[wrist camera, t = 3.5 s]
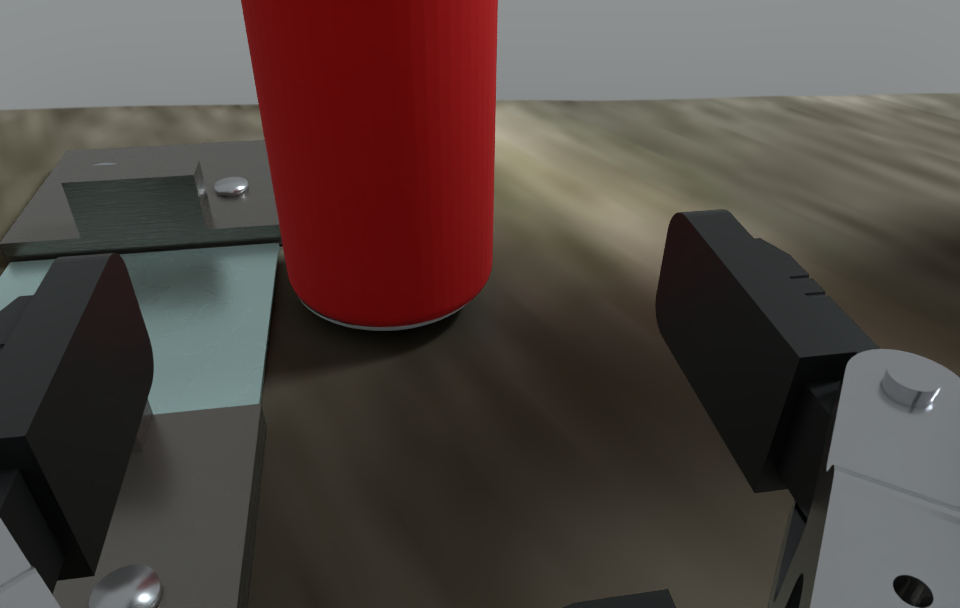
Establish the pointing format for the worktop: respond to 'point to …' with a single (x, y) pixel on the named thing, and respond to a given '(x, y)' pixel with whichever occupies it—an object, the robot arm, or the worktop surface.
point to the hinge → (174, 355)
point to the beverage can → (380, 151)
